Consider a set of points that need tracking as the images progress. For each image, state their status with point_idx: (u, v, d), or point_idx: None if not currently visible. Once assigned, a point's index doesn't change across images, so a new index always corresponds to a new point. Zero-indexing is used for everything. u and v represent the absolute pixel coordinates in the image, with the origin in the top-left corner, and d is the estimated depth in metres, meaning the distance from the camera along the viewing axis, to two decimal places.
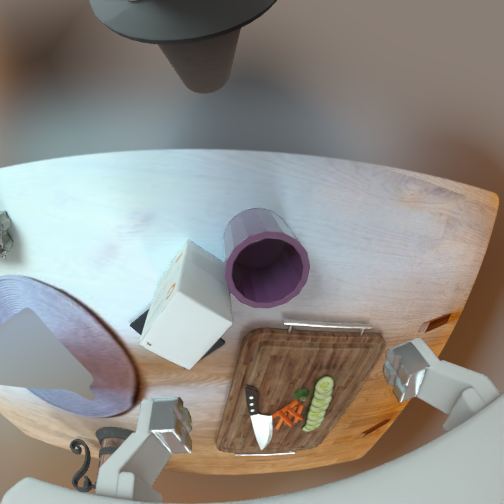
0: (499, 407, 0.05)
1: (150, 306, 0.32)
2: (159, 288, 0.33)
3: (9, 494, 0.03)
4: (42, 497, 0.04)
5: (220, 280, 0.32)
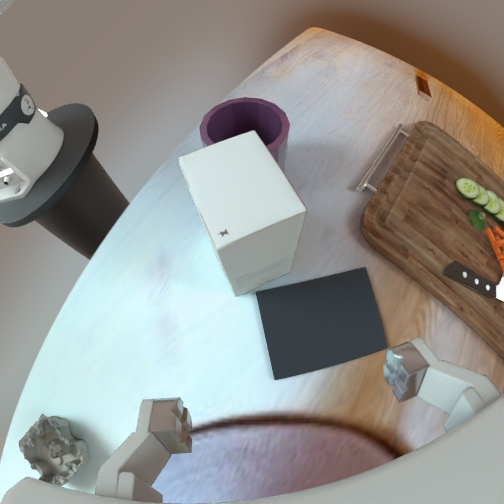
0: (499, 407, 0.05)
1: (227, 277, 0.23)
2: None
3: (9, 494, 0.03)
4: (42, 497, 0.04)
5: None
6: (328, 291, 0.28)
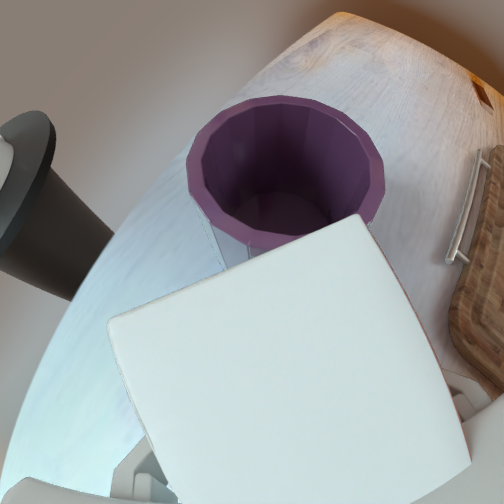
0: (499, 407, 0.05)
1: None
2: None
3: (9, 494, 0.03)
4: (42, 497, 0.04)
5: None
6: None
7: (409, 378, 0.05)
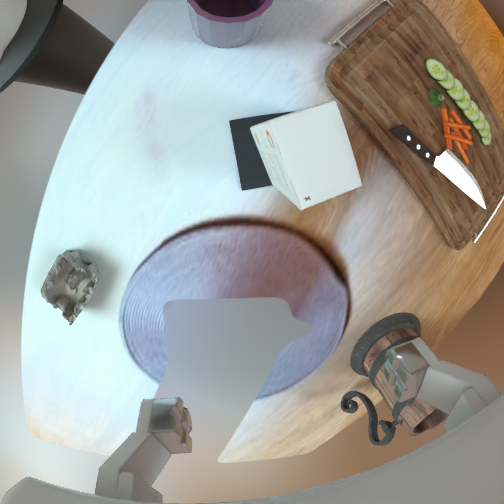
0: (499, 407, 0.05)
1: (282, 192, 0.30)
2: (273, 174, 0.30)
3: (9, 494, 0.03)
4: (42, 497, 0.04)
5: None
6: None
7: (342, 144, 0.22)
